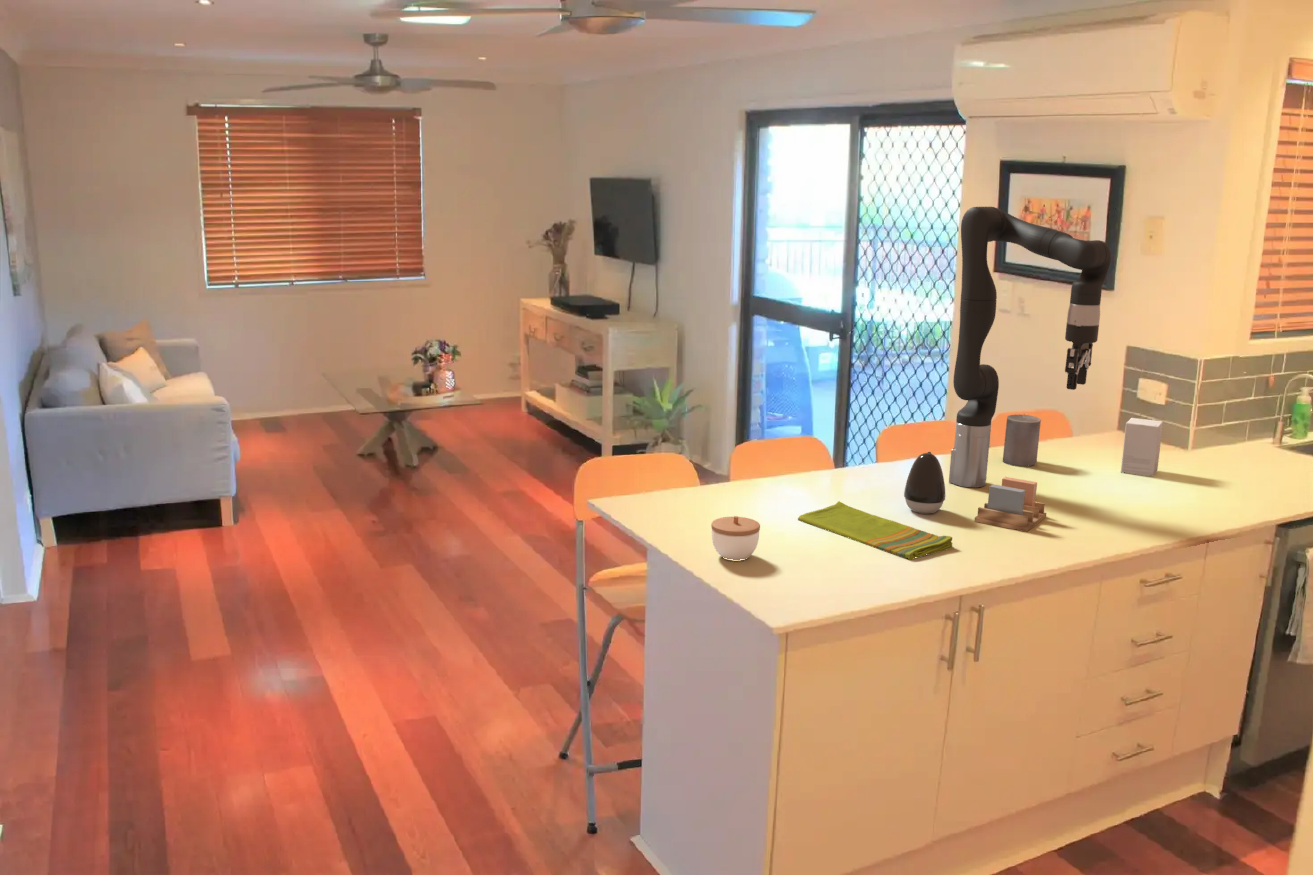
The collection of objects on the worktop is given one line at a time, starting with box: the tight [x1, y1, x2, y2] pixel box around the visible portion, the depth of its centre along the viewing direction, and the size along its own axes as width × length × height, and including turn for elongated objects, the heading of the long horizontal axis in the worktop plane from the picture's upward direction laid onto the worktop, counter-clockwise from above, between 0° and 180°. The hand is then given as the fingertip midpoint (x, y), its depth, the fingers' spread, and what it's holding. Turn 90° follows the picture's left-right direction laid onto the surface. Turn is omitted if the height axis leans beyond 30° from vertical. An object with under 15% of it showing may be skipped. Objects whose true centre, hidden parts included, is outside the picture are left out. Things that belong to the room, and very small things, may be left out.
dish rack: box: [974, 501, 1047, 533], centre depth 272 cm, size 13×15×4 cm
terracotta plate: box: [1001, 476, 1038, 507], centre depth 275 cm, size 8×2×8 cm, turn 54°
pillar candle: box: [1002, 413, 1042, 467], centre depth 325 cm, size 10×10×15 cm
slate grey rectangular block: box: [987, 483, 1025, 515], centre depth 268 cm, size 8×2×8 cm, turn 54°
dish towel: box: [797, 500, 953, 560], centre depth 260 cm, size 15×36×3 cm, turn 38°
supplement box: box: [1120, 417, 1164, 478], centre depth 317 cm, size 9×9×15 cm
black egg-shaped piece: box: [903, 451, 946, 515], centre depth 276 cm, size 10×10×15 cm
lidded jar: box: [710, 515, 761, 560], centre depth 242 cm, size 11×11×9 cm
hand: (1076, 386), depth 274 cm, fingers open, 8 cm apart
